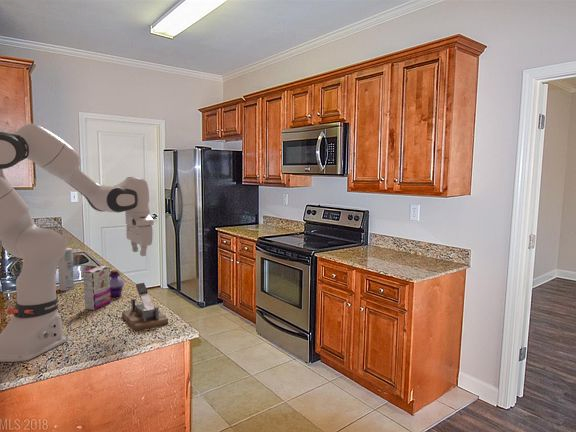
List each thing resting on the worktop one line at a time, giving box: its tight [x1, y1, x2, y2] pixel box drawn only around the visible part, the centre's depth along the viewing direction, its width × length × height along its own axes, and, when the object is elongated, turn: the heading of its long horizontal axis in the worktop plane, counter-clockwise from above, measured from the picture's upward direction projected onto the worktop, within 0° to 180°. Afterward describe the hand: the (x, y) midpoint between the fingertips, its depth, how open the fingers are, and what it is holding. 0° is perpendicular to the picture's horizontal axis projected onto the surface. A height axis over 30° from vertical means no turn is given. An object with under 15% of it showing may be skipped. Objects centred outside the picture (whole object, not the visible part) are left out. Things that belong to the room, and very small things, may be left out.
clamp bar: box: [135, 282, 155, 312], centre depth 150 cm, size 14×3×1 cm, turn 38°
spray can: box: [57, 247, 75, 292], centre depth 191 cm, size 6×6×20 cm
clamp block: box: [130, 298, 160, 323], centre depth 151 cm, size 16×6×5 cm, turn 38°
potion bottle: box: [110, 270, 125, 299], centre depth 181 cm, size 9×9×12 cm
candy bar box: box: [82, 265, 112, 311], centre depth 167 cm, size 11×5×16 cm, turn 168°
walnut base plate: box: [121, 309, 169, 332], centre depth 152 cm, size 18×12×2 cm, turn 38°
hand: (139, 253), depth 153 cm, fingers open, 8 cm apart
